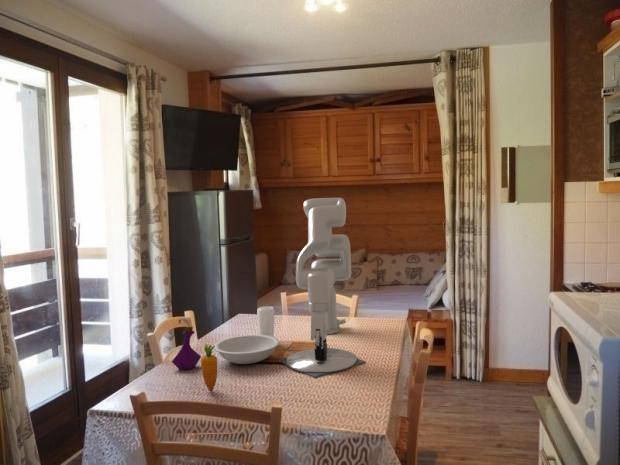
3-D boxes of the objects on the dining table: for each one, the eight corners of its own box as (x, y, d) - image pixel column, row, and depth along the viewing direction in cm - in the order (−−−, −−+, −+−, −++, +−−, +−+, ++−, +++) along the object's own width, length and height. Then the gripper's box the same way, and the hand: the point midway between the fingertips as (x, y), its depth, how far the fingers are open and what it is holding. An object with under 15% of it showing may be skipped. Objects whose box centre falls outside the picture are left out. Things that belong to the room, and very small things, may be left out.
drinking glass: (276, 342, 210) (275, 306, 209) (274, 347, 203) (272, 309, 202) (260, 342, 211) (258, 306, 210) (257, 347, 204) (255, 310, 203)
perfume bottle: (201, 365, 184) (198, 316, 183) (190, 372, 177) (187, 321, 176) (184, 363, 187) (181, 315, 186) (172, 370, 180) (168, 320, 179)
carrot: (203, 389, 161) (201, 342, 160) (219, 388, 161) (217, 341, 160) (201, 395, 156) (198, 346, 155) (218, 394, 156) (215, 345, 155)
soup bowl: (252, 376, 171) (251, 357, 170) (200, 366, 183) (199, 348, 183) (293, 355, 191) (292, 338, 190) (243, 348, 204) (242, 331, 203)
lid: (328, 346, 199) (327, 330, 198) (371, 361, 178) (370, 343, 178) (273, 360, 185) (272, 343, 184) (313, 378, 164) (312, 359, 164)
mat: (327, 349, 197) (327, 347, 197) (365, 363, 179) (365, 361, 179) (279, 361, 184) (278, 360, 184) (314, 377, 166) (314, 376, 166)
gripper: (312, 301, 189) (314, 349, 191) (304, 312, 172) (306, 364, 174) (332, 301, 188) (334, 349, 189) (326, 312, 171) (328, 364, 172)
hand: (321, 356), depth 181 cm, fingers open, 6 cm apart
